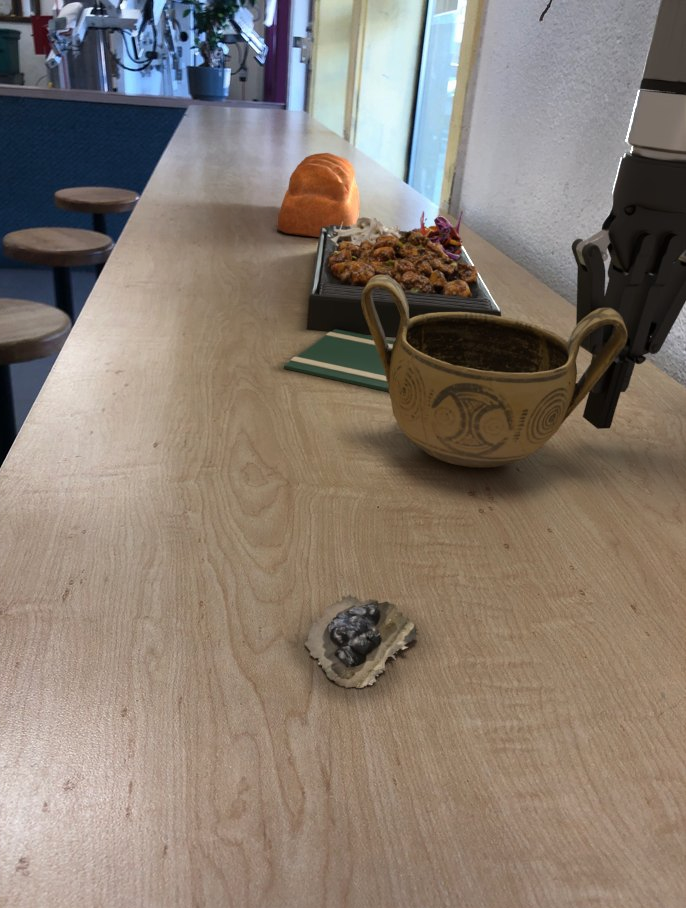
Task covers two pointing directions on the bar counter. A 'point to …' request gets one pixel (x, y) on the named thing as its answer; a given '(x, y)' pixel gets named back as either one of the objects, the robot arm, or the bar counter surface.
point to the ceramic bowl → (483, 378)
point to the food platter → (392, 275)
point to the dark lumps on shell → (358, 639)
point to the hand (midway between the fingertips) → (596, 422)
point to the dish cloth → (344, 360)
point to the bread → (319, 196)
